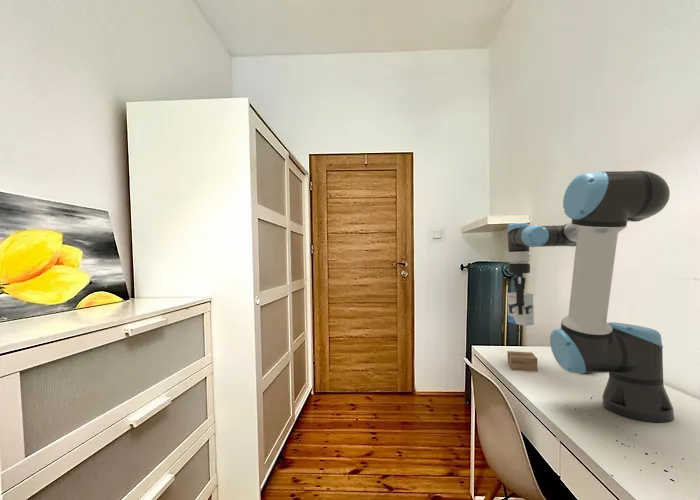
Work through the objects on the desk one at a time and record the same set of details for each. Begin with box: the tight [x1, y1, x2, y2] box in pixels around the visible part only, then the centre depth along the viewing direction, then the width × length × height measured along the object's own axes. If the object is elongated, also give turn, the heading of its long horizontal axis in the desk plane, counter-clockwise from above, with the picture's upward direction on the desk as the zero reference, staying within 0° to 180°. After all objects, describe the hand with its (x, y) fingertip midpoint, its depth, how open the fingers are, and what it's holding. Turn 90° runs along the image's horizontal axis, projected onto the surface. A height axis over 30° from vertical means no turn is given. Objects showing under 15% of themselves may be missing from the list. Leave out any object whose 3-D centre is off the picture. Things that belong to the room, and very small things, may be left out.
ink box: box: [506, 291, 535, 326], centre depth 136 cm, size 8×5×12 cm, turn 17°
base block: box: [506, 350, 539, 373], centre depth 136 cm, size 9×9×5 cm
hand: (520, 320), depth 136 cm, fingers closed on ink box, 9 cm apart
